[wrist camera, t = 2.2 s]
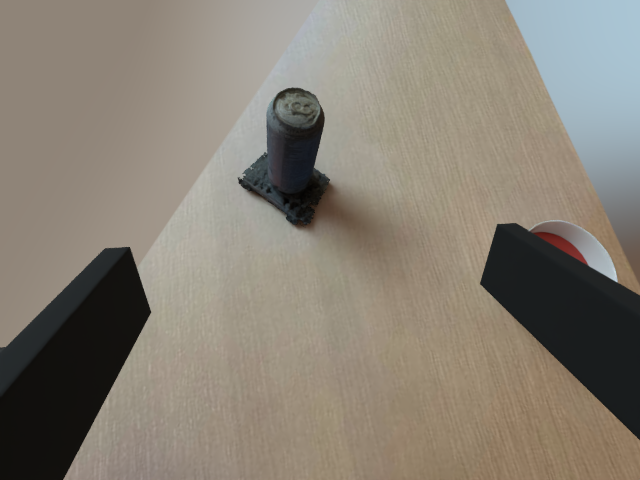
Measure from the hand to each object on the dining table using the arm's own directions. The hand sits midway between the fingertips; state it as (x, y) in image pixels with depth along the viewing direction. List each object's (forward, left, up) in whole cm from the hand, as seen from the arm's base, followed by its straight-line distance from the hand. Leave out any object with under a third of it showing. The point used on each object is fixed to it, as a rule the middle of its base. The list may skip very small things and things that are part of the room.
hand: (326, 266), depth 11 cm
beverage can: (-8, +11, -19) cm, 24 cm away
